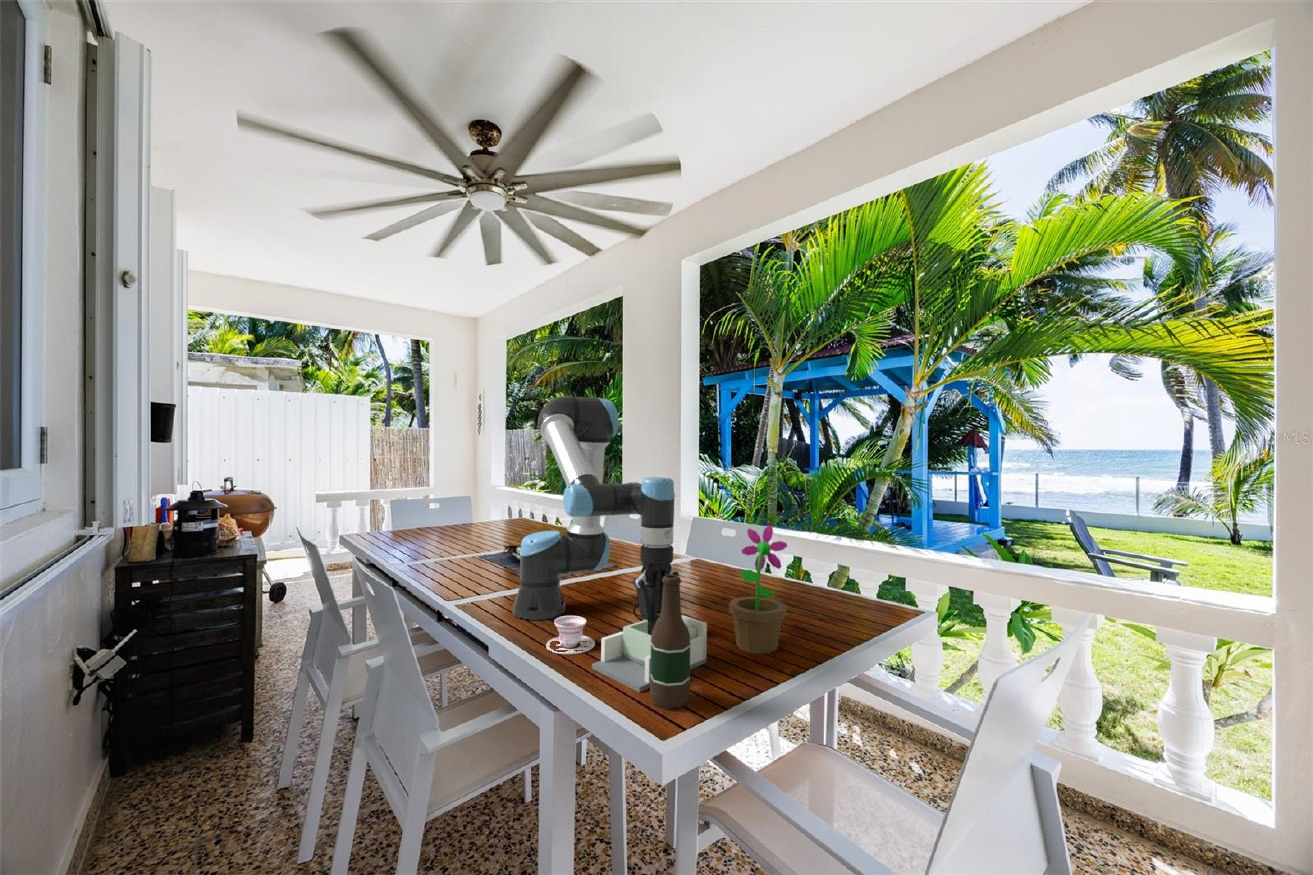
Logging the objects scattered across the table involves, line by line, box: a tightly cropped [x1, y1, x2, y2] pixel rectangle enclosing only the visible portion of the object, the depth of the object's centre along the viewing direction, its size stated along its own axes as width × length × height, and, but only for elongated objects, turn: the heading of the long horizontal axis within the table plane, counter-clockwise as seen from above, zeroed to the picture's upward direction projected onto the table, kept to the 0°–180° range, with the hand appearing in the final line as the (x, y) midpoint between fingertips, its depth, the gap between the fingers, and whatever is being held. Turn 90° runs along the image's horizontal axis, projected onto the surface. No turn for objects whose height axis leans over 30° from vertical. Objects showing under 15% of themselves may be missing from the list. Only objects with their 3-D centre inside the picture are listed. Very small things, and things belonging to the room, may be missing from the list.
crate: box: [622, 619, 697, 666], centre depth 116 cm, size 12×12×7 cm
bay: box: [591, 614, 708, 693], centre depth 114 cm, size 15×21×9 cm
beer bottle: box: [649, 575, 691, 710], centre depth 99 cm, size 8×8×24 cm
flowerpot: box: [728, 524, 788, 655], centre depth 127 cm, size 14×14×30 cm
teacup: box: [545, 615, 596, 655], centre depth 125 cm, size 12×12×6 cm
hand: (655, 648), depth 115 cm, fingers closed
